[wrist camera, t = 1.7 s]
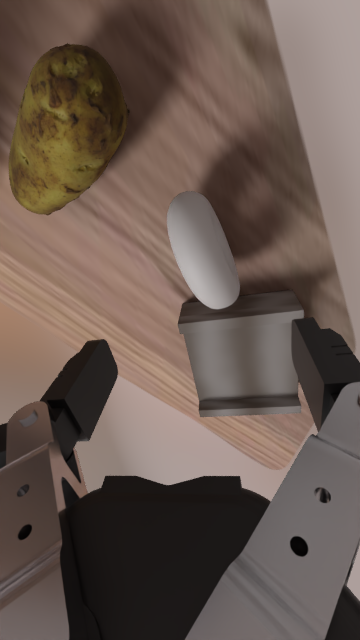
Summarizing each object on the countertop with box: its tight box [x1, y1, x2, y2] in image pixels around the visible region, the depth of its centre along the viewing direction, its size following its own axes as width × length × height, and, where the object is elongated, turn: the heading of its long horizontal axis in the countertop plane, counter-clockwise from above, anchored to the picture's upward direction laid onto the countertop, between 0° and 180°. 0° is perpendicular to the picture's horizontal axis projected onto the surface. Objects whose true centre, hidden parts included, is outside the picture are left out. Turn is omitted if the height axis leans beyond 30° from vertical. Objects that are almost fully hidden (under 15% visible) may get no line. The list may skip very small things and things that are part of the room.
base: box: [178, 290, 304, 417], centre depth 31 cm, size 12×14×4 cm
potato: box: [9, 43, 130, 215], centre depth 21 cm, size 8×13×8 cm, turn 110°
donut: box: [167, 191, 240, 309], centre depth 23 cm, size 10×3×10 cm, turn 26°
